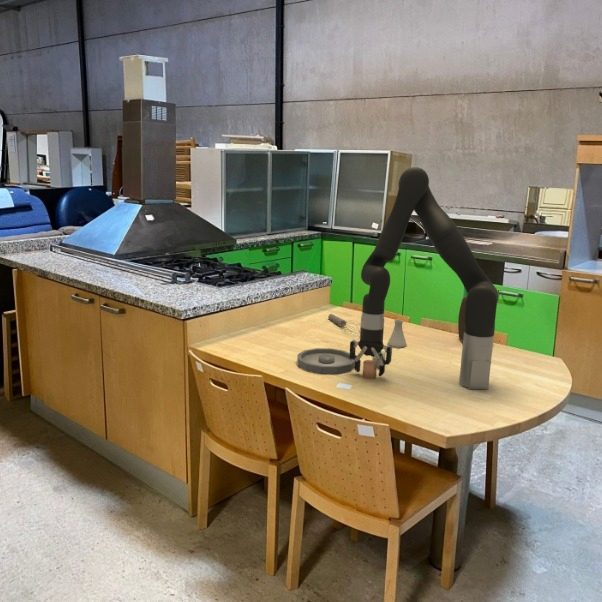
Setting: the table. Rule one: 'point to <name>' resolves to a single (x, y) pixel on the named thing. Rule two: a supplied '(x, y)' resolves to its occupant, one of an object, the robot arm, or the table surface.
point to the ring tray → (325, 361)
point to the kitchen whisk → (341, 322)
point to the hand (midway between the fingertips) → (369, 373)
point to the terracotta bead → (369, 369)
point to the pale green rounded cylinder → (377, 360)
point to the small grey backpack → (461, 318)
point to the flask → (397, 336)
